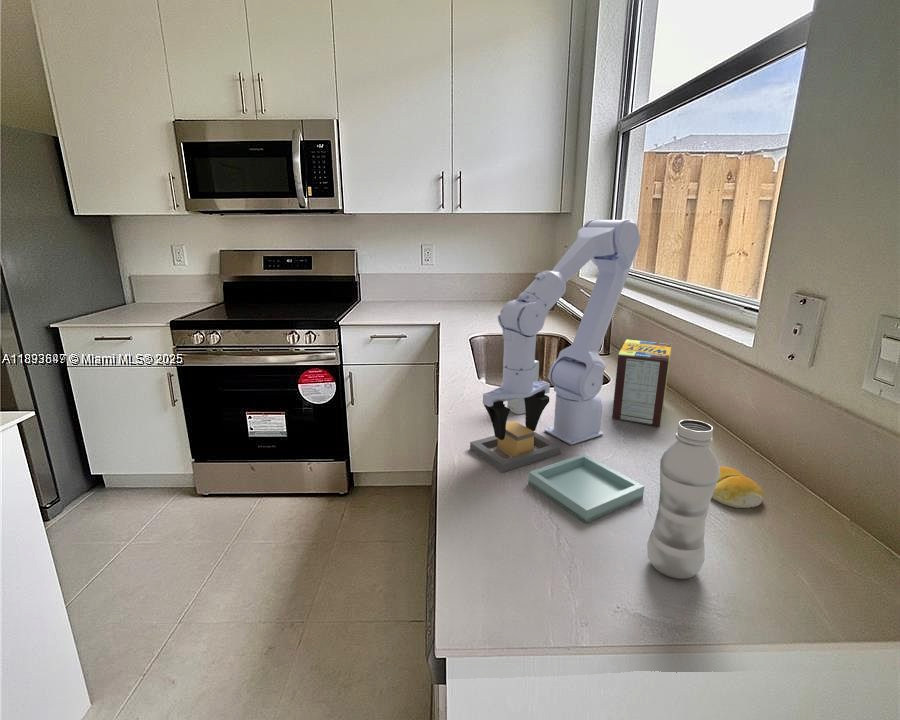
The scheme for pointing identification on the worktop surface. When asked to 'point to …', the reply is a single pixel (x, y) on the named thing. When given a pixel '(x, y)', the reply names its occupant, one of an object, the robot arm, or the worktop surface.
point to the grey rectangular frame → (517, 461)
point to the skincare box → (519, 404)
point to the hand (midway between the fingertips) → (515, 433)
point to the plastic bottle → (684, 501)
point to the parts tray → (585, 487)
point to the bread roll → (737, 489)
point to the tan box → (516, 439)
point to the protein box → (641, 382)
